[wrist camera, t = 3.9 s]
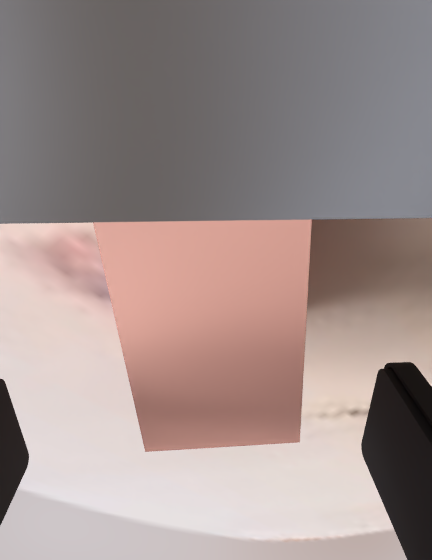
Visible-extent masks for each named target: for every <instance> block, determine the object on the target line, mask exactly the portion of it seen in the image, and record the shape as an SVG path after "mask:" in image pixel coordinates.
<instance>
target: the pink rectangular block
mask: <svg viewBox="0 0 432 560" xmlns="http://www.w3.org/2000/svg"><path fill="white" fill-rule="evenodd" d="M93 224H94V228H95V233H96V237H97V241H98V246H99V250H100V255H101V259H102V263H103V268H104V272H105V277H106V281H107V285H108V290H109V294H110V299H111V303H112V307H113V312H114V316H115V320H116V325H117V329H118V334H119V338H120V342H121V347H122V351H123V356H124V360H125V364H126V369H127V373H128V378H129V382H130V386H131V391H132V395H133V400H134V404H135V408H136V413H137V417H138V422H139V426H140V430H141V435H142V439H143V443H144V448H145V452H149V451H165V450H181V449H198V448H214V447H230V446H247V445H263V444H279V443H296V442H300V426H301V407H302V389H303V371H304V352H305V334H306V316H307V297H308V279H309V261H310V242H311V224H312V219H310V220H234V221H158V222H93Z"/></svg>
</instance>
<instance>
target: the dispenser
mask: <svg viewBox="0 0 432 560" xmlns="http://www.w3.org/2000/svg"><path fill="white" fill-rule="evenodd" d="M385 218H432V0H0V224H7V223H83V222H158V221H234V220H310V219H385Z"/></svg>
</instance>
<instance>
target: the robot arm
mask: <svg viewBox="0 0 432 560" xmlns="http://www.w3.org/2000/svg"><path fill="white" fill-rule="evenodd" d="M361 446H362V454H363V457H364V460H365V462H366V464H367V467H368V469H369V471H370V474H371V476H372V478H373V481H374V483H375V485H376V488H377V490H378V492H379V495H380V497H381V499H382V502H383V504H384V506H385V509H386V511H387V513H388V516H389V518H390V520H391V523H392V525H393V527H394V530H395V532H396V534H397V536H398V539H399V541H400V543H401V546H402V548H403V550H404V553H405V555H406V557H407V560H432V387H431V386H430V384H429V383H428V382H427V380H426V379H425V378H424V376H423V375H422V374H421V372H420V371H419V370H418V368H417V367H416V366H415V365H414V364H413V363H411V362H403V363H387V364H386V365H385V367H384V369H380V370H379V371H378V374H377V379H376V383H375V387H374V392H373V396H372V400H371V404H370V409H369V413H368V417H367V422H366V426H365V430H364V435H363V439H362V444H361ZM28 460H29V454H28V450H27V447H26V444H25V441H24V438H23V435H22V432H21V429H20V426H19V423H18V420H17V417H16V414H15V411H14V408H13V405H12V402H11V399H10V396H9V393H8V390H7V387H6V384H5V381H4V380H3V379H0V525H1V523H2V521H3V519H4V516H5V514H6V512H7V510H8V508H9V505H10V503H11V501H12V499H13V497H14V495H15V492H16V490H17V488H18V486H19V484H20V482H21V479H22V477H23V475H24V473H25V471H26V468H27V465H28Z"/></svg>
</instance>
